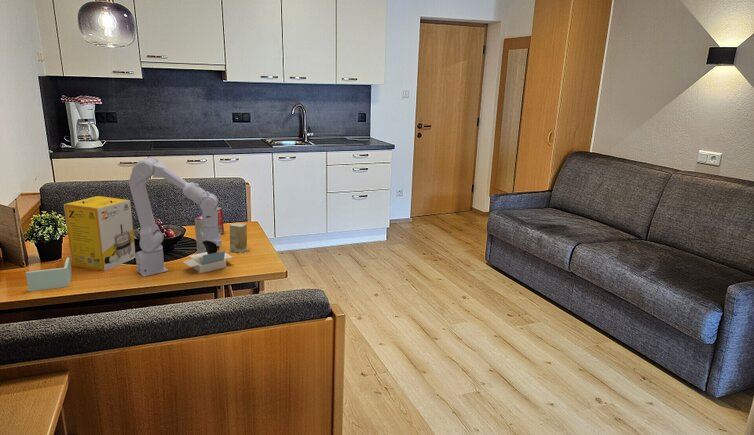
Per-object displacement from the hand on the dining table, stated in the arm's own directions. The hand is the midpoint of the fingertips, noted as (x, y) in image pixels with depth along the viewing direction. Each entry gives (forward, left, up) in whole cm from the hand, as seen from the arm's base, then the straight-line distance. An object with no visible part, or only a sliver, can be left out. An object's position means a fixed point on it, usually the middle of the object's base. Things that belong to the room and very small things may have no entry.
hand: (212, 258), depth 194 cm
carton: (0, +6, -5) cm, 8 cm away
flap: (0, -1, +1) cm, 1 cm away
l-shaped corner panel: (-51, +23, -6) cm, 56 cm away
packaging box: (-30, +35, -5) cm, 46 cm away
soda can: (+22, +44, -5) cm, 49 cm away
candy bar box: (+8, +22, -5) cm, 24 cm away
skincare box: (+19, +15, -5) cm, 25 cm away
